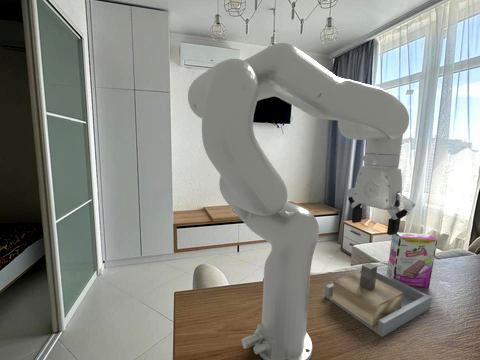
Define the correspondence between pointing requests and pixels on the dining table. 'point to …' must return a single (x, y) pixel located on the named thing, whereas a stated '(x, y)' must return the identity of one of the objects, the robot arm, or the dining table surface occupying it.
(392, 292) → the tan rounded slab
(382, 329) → the bay
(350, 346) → the dining table surface
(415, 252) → the candy bar box
